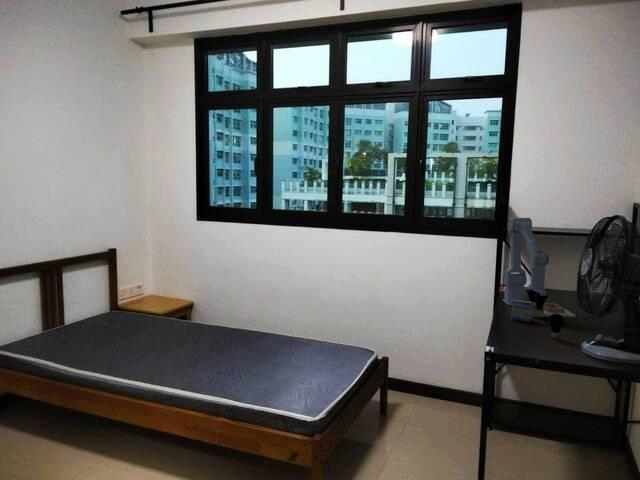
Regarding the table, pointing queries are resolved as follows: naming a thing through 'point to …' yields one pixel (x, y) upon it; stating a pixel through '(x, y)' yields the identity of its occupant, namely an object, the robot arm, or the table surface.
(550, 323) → the light bulb
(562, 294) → the table surface
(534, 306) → the oak block
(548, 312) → the holder
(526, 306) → the medicine box
